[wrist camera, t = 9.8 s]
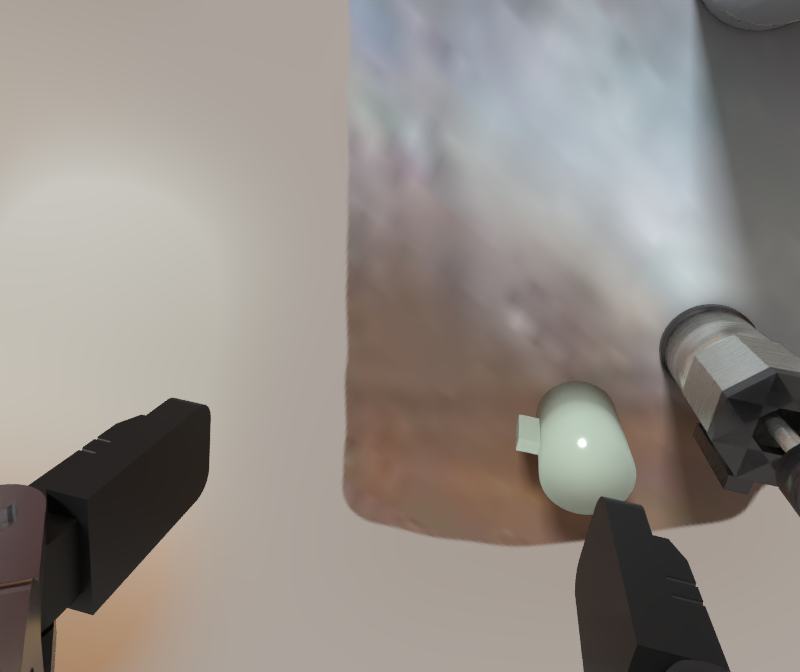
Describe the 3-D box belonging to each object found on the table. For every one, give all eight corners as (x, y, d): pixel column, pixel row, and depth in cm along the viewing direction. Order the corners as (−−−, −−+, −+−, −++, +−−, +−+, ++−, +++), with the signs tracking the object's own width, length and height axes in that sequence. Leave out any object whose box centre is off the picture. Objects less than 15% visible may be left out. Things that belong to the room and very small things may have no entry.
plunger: (720, 354, 38) (820, 464, 25) (780, 365, 37) (913, 483, 24) (702, 404, 39) (789, 533, 26) (760, 416, 38) (877, 554, 26)
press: (674, 296, 44) (736, 362, 31) (769, 313, 43) (875, 388, 30) (642, 399, 47) (687, 499, 34) (730, 418, 46) (811, 527, 33)
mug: (525, 370, 48) (526, 418, 40) (625, 390, 47) (647, 444, 39) (510, 438, 51) (507, 497, 42) (605, 459, 50) (622, 524, 41)
